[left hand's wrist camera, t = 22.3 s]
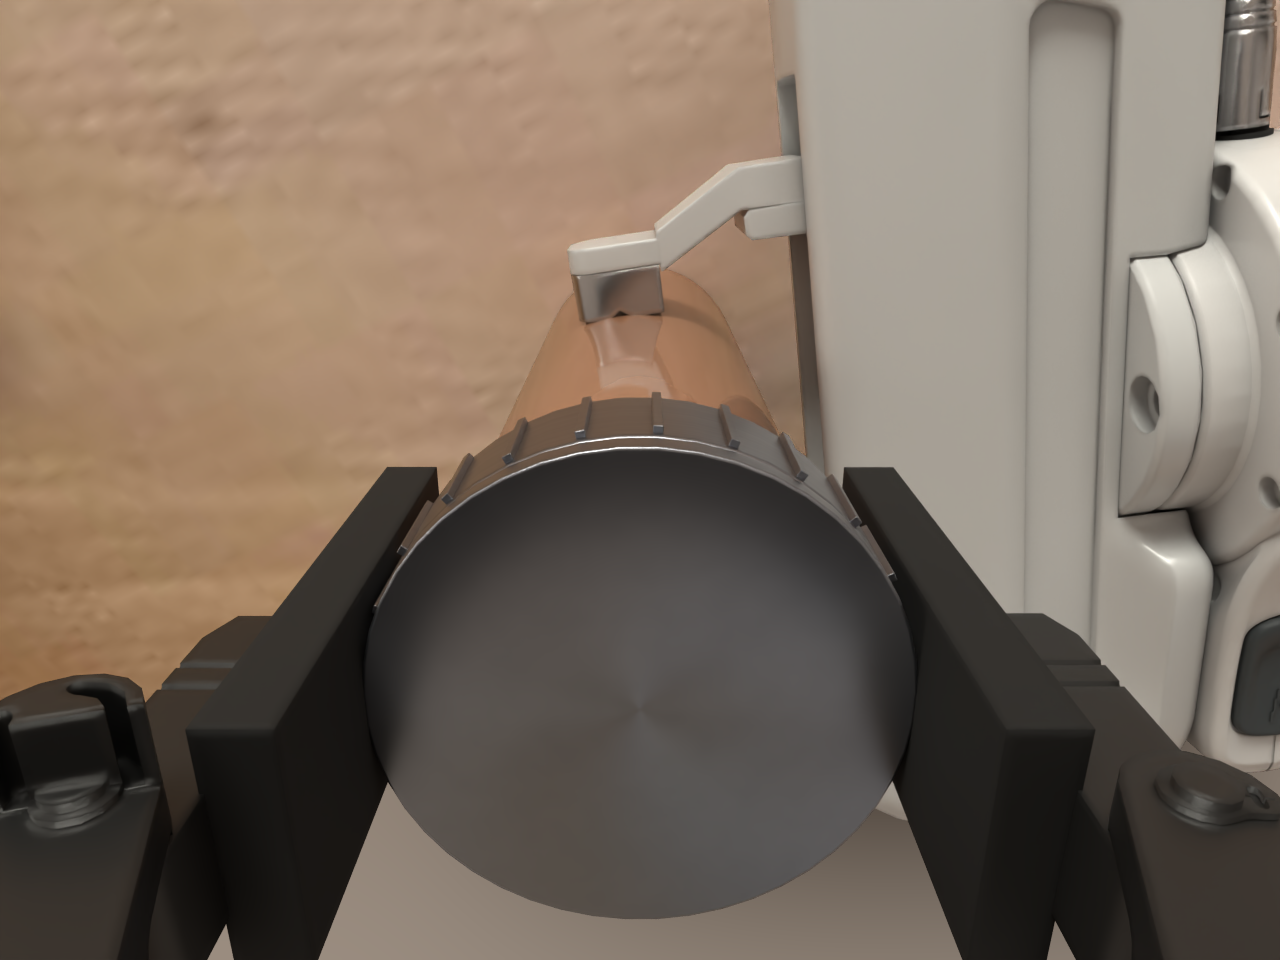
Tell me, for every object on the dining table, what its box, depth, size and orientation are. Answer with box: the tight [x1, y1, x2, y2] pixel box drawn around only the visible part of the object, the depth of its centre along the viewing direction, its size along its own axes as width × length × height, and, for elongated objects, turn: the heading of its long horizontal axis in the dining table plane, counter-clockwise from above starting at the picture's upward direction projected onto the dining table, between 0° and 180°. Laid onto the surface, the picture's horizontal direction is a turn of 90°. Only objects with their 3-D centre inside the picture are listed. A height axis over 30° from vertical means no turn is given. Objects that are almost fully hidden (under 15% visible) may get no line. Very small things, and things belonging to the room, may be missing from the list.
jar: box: [499, 268, 780, 438], centre depth 19 cm, size 5×5×16 cm
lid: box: [363, 392, 917, 919], centre depth 11 cm, size 6×6×2 cm
